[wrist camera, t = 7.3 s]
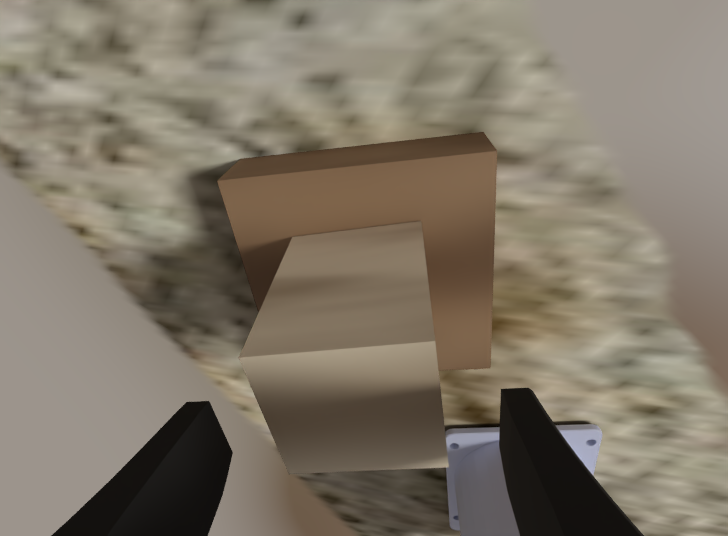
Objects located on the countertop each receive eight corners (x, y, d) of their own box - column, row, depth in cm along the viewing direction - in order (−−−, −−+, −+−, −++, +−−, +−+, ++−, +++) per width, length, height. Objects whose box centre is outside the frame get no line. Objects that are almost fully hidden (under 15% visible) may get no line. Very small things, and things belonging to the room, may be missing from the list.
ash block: (432, 325, 17) (448, 467, 11) (320, 335, 17) (288, 474, 12) (421, 220, 14) (434, 340, 9) (292, 236, 15) (238, 357, 10)
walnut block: (478, 322, 20) (490, 368, 18) (293, 334, 21) (279, 378, 19) (480, 128, 16) (497, 150, 13) (244, 154, 17) (217, 180, 14)
